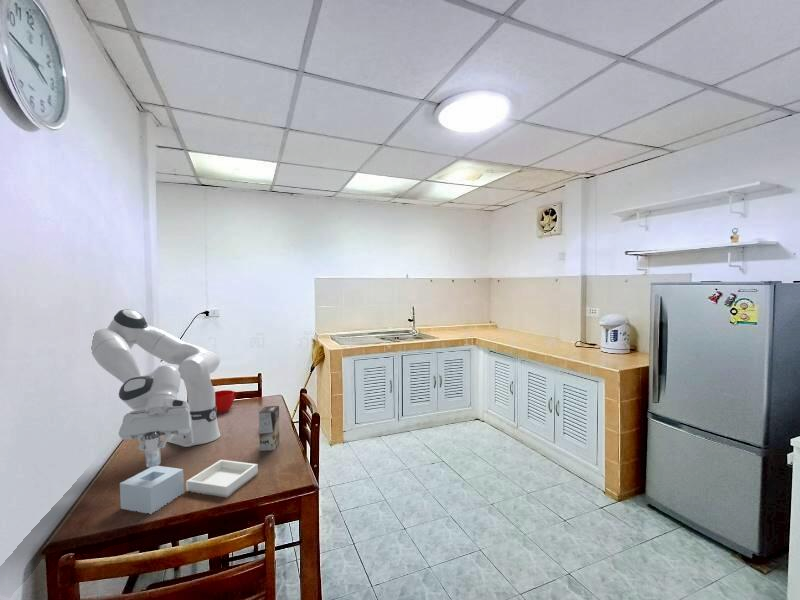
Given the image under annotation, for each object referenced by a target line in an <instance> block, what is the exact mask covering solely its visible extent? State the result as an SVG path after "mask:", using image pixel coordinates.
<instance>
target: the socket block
mask: <svg viewBox="0 0 800 600" xmlns="http://www.w3.org/2000/svg"><path fill="white" fill-rule="evenodd" d="M119 491H120V492H119V494H120V496H119V497H120V509H122V510H127V511H131V512H136V511H137V512H138V513H142V514H147V513H149V514H148V515H152V513H153V512H154V513H156V512H157V511H158V510H161V507H162V508H163V507H164V505H165V506H166V505H168V504H170V503H171V502H173V501H174V500H176V499H177V498H178V496H179V497H180V496H182V495H183V494H184V493H185V479H184V469H183V468H176V467H170V466H162V465H157V466H154V467H147V469H144V470H142V471H141V472H139V473H136V474H135V475H134V476H131V477H130V478H127V479H126V480H124V481H121V482H119ZM181 494H182V495H181ZM175 498H176V499H175ZM173 499H174V500H173ZM167 503H168V504H167ZM155 511H156V512H155ZM154 513H153V514H154Z"/></svg>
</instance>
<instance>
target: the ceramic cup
mask: <svg viewBox="0 0 800 600" xmlns="http://www.w3.org/2000/svg"><path fill="white" fill-rule="evenodd" d="M237 397H238V392H237V391H236V390H235V391H234V390H231V389H230V390H215V405H216V408H217V414H224V413H226V412H227V413H228V411H229V410H230V409H231V408H232V405H233V403H234V401H235V400H236V398H237Z"/></svg>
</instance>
